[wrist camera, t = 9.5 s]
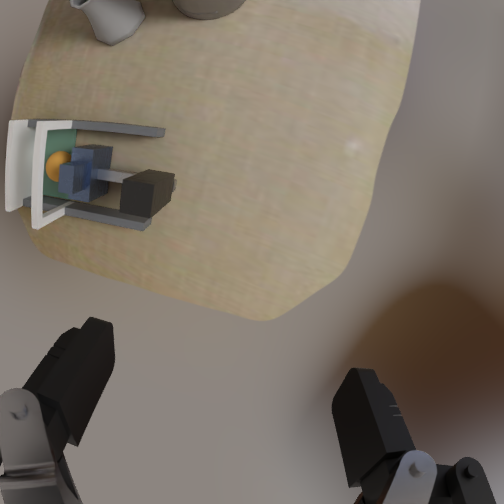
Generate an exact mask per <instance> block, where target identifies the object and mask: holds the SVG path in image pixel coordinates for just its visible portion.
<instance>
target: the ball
mask: <svg viewBox="0 0 504 504" xmlns="http://www.w3.org/2000/svg"><path fill="white" fill-rule="evenodd" d="M67 162H71V155H70V154H69V153H67V152H65V151H58V152H55V153H53V154H52V155H51V156H50V157H49V158H48V160H47V163H46V173H47V175H48V177H49V178H50V179H51V180H53V181H56V182H59V169H60V164H63V163H67Z"/></svg>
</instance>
